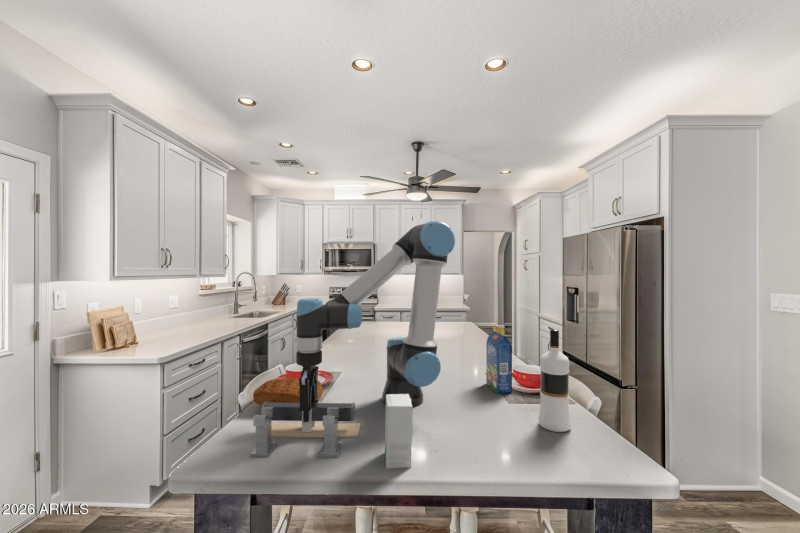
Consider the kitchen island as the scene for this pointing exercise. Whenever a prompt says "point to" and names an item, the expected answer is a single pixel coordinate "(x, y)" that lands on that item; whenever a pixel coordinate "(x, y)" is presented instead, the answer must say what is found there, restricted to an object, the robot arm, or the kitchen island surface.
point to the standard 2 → (331, 434)
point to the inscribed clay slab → (281, 391)
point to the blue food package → (499, 361)
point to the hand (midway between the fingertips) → (308, 428)
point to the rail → (318, 411)
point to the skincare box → (398, 431)
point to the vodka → (554, 388)
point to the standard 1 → (263, 433)
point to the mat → (317, 430)
